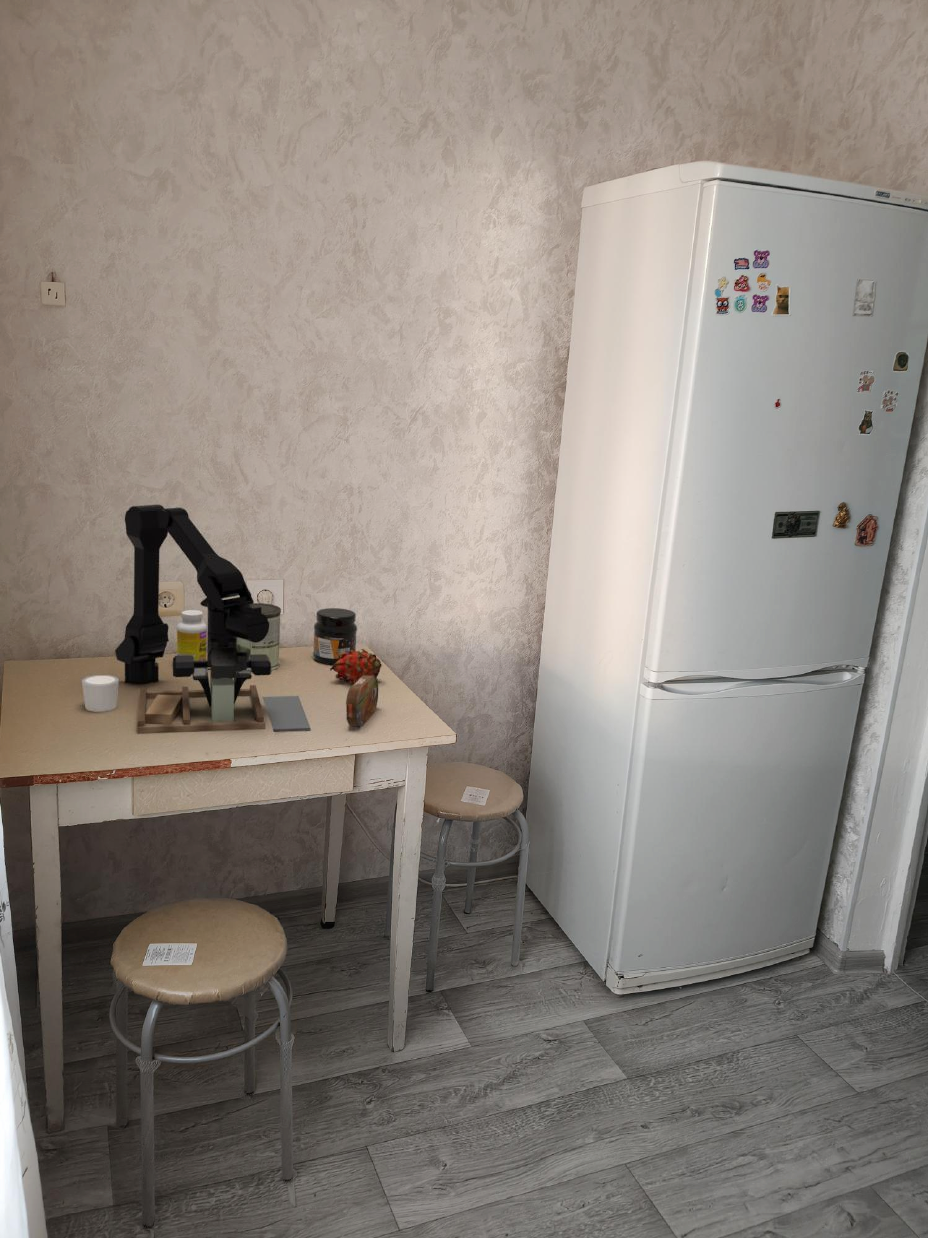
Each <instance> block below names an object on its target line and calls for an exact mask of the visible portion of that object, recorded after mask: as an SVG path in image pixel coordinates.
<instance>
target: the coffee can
mask: <svg viewBox="0 0 928 1238" xmlns="http://www.w3.org/2000/svg"><path fill="white" fill-rule="evenodd" d="M250 605H251V606H258V607H261V613H262V614H264V615H265V616H266V617H267V619H268V622H269V631H268V633H267V635H266V637H265V638H264V639H263V640H262V641H260V642H258V643H254V642H251V641H248V640H245V639H241V638H238V637H237V651H238V652H247V660H249V655H256V654H266V655H267V656H268V657H269V659H270V662H271V672H272V671H274V670H277V669H278V668H279V667H280V640H281V639H280V637H281V635H280V634H281V633H280V632H281V629H280V628H281V613H282V609H281V608H282V607H280V606H277V605H274V604H271V603H262V602H255V603H253V604H250Z"/></svg>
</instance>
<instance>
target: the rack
mask: <svg viewBox="0 0 928 1238" xmlns="http://www.w3.org/2000/svg"><path fill="white" fill-rule="evenodd" d="M258 692H259V691H258V689H257V685H255V684H252V685H251V684H250V685H249V688H241V689H240V691H239V694H238V696H237V697H249V699H250V701H251V706H252V709H253V710H252V711H253V714H254V719H255V720H254V721H252V720H251V721H234V722H220V723H212V722H198V723H197V722H196V723H193V722H192V723H191V715H190V699H191V698H206V695H205V692H204V690H203V689H190V690H189V686H181V689H179V690H148V689H147V687H140V690H139V701H138V711H137V712H138V713H137V734H139V735H140V734H162V733H163V734H164V733H166V734H167V733H190V732H193V733H194V732H217V731H218V732H219V731H222V732H223V731H245V730H265V729H266V721H265V716H264V712H263V707H262V704H261V700H260V697H259V693H258ZM157 695H182V706H181V708H182V723H172V724H146V723H145V714H146V712H147V699H149V700H151V699H152V700H155V698H156V697H157Z"/></svg>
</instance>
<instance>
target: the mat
mask: <svg viewBox="0 0 928 1238" xmlns="http://www.w3.org/2000/svg"><path fill="white" fill-rule="evenodd" d="M262 700H263V703H264V706H265V710H266V712H267V715H268V718H269V721H270V725H271V727H272V731H273V732H275V733H276V732H297V731H298V730H299V731H298V732H300V730H305V731H311V726H310V723H309V720H308V718H307V715H306V712H305V710H304V707H303V705H302V701H301V700H300V697H299V695H284V696H283V695H281V696H280V695H279V696H276V695H275V696H262Z"/></svg>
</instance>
